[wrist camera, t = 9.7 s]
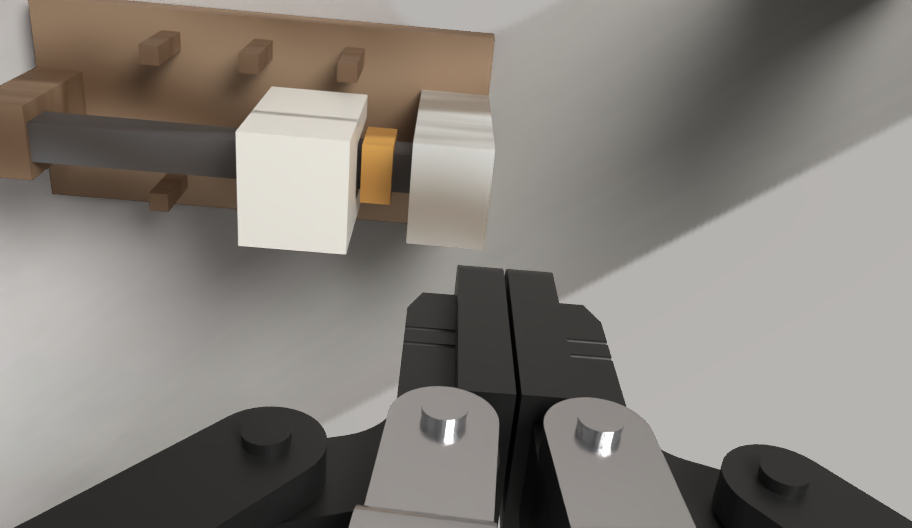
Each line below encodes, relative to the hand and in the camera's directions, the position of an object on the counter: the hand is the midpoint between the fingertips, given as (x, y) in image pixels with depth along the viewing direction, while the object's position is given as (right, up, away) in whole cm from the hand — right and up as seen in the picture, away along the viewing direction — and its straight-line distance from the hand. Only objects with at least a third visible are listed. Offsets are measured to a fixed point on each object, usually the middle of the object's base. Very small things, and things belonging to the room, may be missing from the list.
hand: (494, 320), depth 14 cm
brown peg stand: (-9, +8, +26) cm, 29 cm away
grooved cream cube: (-7, +6, +23) cm, 25 cm away
